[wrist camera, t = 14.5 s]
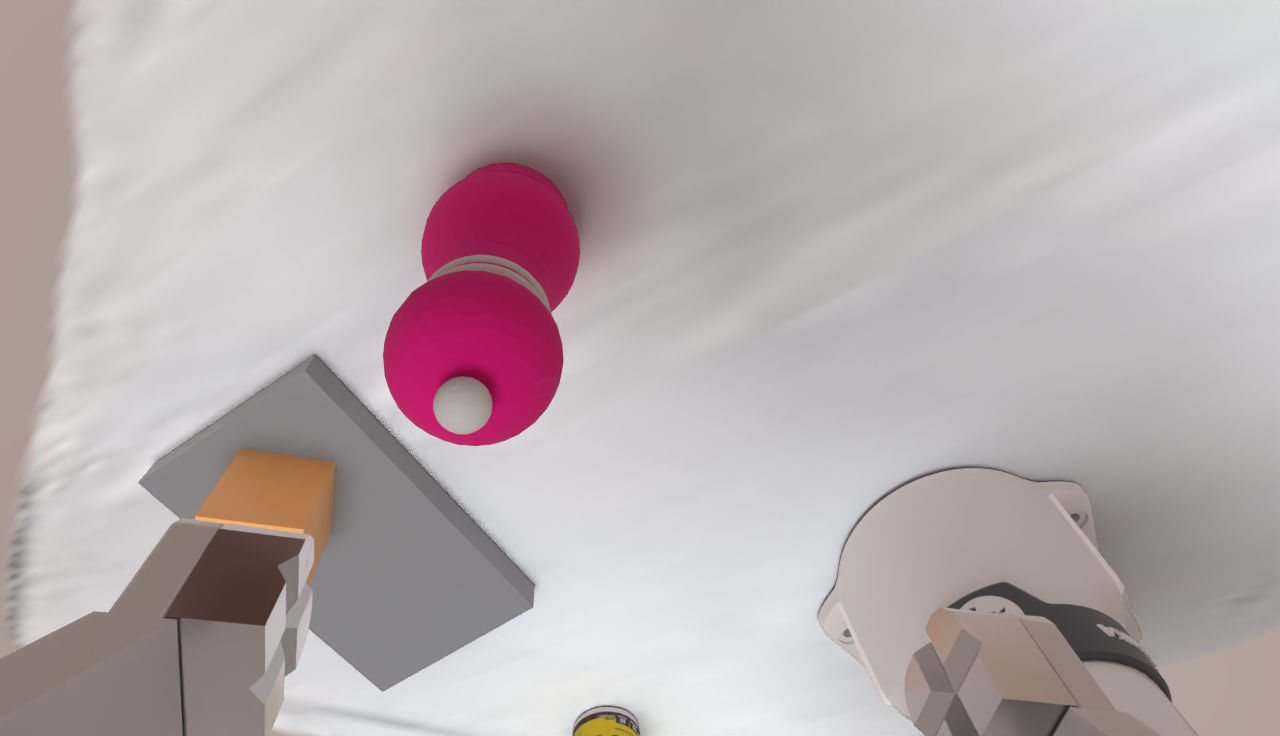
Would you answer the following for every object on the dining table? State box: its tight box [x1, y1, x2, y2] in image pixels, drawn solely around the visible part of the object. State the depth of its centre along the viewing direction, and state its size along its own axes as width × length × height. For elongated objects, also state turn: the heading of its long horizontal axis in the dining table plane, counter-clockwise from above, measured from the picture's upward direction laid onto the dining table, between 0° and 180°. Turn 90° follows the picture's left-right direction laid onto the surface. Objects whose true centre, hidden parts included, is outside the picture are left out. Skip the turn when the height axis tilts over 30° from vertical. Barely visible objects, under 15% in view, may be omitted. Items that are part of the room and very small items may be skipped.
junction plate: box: [139, 355, 535, 692], centre depth 47 cm, size 20×12×7 cm, turn 33°
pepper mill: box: [383, 163, 580, 446], centre depth 33 cm, size 7×7×20 cm
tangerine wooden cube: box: [195, 449, 336, 585], centre depth 44 cm, size 5×5×6 cm
